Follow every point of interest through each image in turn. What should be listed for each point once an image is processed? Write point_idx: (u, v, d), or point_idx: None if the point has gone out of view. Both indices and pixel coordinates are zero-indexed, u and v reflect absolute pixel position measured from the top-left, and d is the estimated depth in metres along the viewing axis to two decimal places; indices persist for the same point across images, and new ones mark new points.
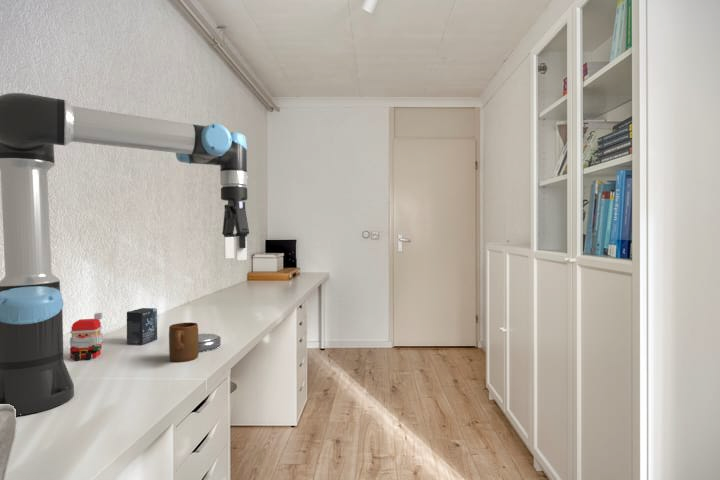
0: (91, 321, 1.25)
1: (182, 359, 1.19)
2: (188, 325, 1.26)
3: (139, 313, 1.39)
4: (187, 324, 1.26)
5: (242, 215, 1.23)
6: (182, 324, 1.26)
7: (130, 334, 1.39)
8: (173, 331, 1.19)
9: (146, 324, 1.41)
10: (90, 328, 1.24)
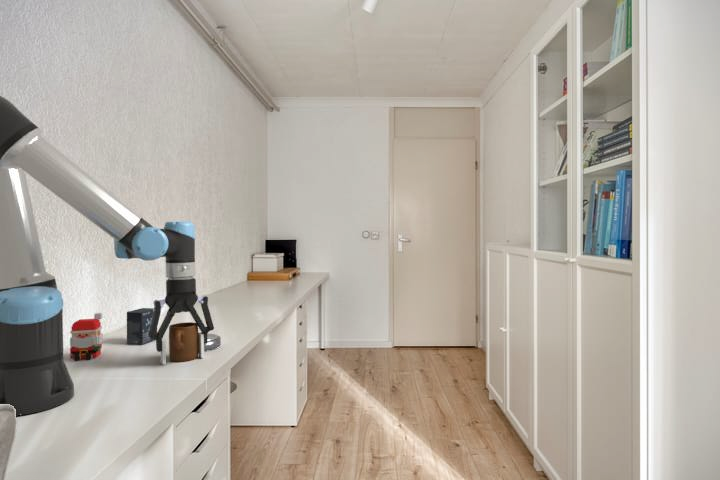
0: (91, 321, 1.25)
1: (182, 359, 1.19)
2: (188, 325, 1.26)
3: (139, 313, 1.39)
4: (187, 324, 1.26)
5: (153, 316, 1.16)
6: (182, 324, 1.26)
7: (130, 334, 1.39)
8: (173, 330, 1.19)
9: (146, 324, 1.41)
10: (91, 328, 1.24)
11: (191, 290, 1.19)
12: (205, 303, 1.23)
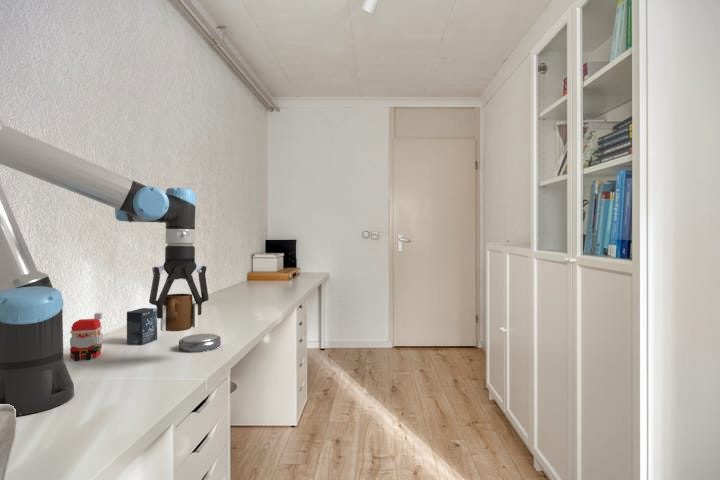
0: (91, 321, 1.25)
1: (175, 328, 1.18)
2: None
3: (139, 313, 1.39)
4: (181, 295, 1.25)
5: (153, 283, 1.16)
6: (176, 295, 1.25)
7: (130, 334, 1.39)
8: (167, 300, 1.18)
9: (146, 324, 1.41)
10: (90, 328, 1.24)
11: (190, 257, 1.19)
12: (203, 272, 1.23)
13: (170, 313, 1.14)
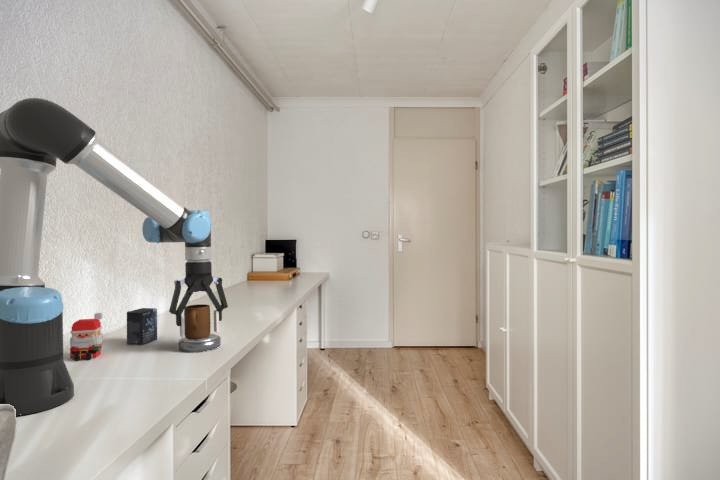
0: (91, 321, 1.25)
1: (196, 336, 1.33)
2: (201, 307, 1.40)
3: (139, 313, 1.39)
4: (200, 306, 1.40)
5: (174, 294, 1.31)
6: (195, 306, 1.39)
7: (130, 334, 1.39)
8: (188, 311, 1.33)
9: (146, 324, 1.41)
10: (91, 328, 1.24)
11: (207, 272, 1.33)
12: (220, 283, 1.37)
13: (192, 323, 1.29)
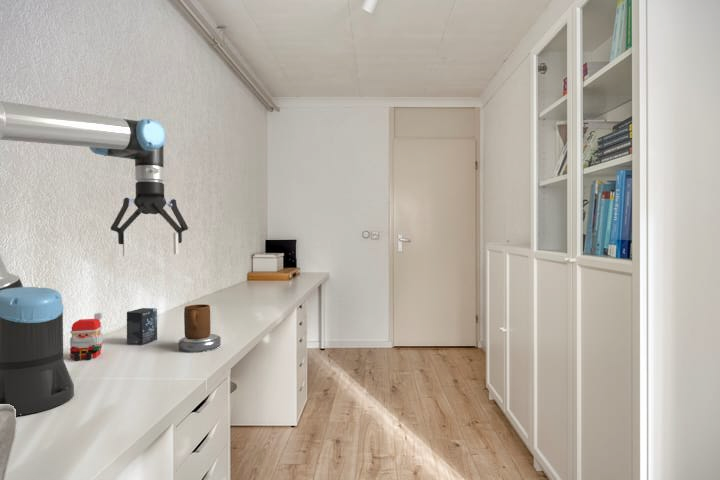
0: (91, 321, 1.25)
1: (196, 336, 1.33)
2: (201, 307, 1.40)
3: (139, 313, 1.39)
4: (200, 306, 1.40)
5: None
6: (195, 306, 1.39)
7: (130, 334, 1.39)
8: (188, 311, 1.33)
9: (146, 324, 1.41)
10: (91, 328, 1.24)
11: (159, 192, 1.26)
12: (174, 205, 1.30)
13: (192, 323, 1.29)
